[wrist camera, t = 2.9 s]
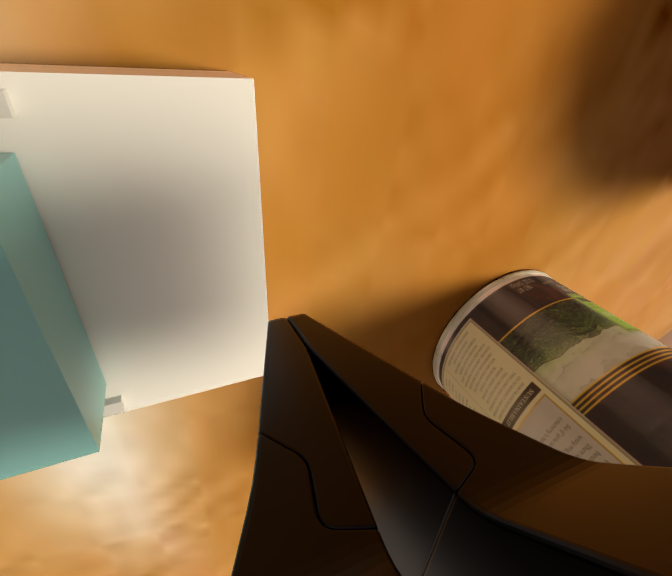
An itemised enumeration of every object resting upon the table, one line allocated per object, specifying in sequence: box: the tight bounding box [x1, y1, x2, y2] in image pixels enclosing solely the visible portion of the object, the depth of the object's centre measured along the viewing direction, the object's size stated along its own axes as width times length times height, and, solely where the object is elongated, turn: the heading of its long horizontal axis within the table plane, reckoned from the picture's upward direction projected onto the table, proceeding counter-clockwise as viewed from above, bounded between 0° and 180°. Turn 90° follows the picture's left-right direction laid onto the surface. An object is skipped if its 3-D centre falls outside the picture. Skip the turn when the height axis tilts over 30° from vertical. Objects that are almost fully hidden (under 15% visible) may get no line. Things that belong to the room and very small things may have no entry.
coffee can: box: [433, 270, 672, 468], centre depth 20 cm, size 10×10×14 cm
